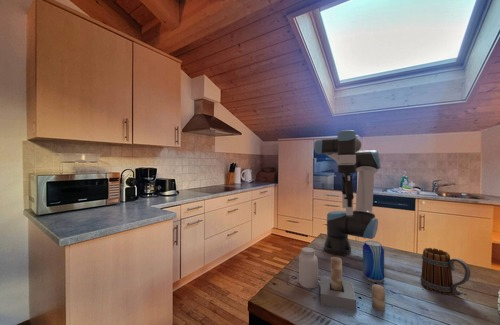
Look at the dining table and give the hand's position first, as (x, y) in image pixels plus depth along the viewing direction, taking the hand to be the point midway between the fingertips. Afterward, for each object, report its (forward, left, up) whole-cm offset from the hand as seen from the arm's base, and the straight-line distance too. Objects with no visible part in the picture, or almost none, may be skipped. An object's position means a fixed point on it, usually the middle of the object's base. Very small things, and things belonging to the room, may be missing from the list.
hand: (347, 211), depth 95 cm
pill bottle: (+9, -17, -31) cm, 36 cm away
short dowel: (+17, +8, -31) cm, 36 cm away
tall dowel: (+16, -6, -31) cm, 35 cm away
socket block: (+16, -6, -31) cm, 35 cm away
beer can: (-4, +11, -31) cm, 33 cm away
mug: (-2, +36, -31) cm, 47 cm away
